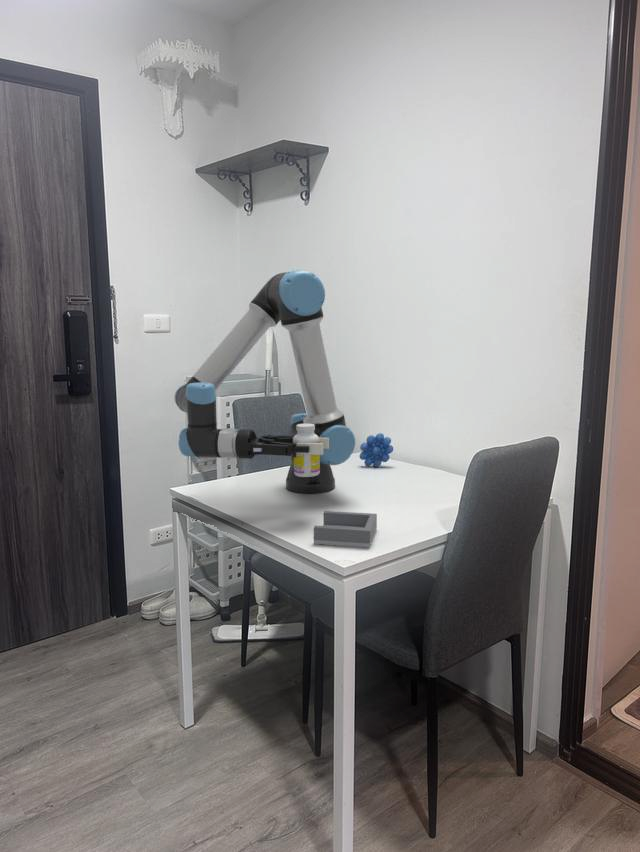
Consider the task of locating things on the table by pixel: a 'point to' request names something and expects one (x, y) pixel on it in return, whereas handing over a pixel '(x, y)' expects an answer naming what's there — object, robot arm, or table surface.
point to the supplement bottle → (306, 462)
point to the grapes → (376, 450)
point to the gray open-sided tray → (346, 529)
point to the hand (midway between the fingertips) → (325, 446)
